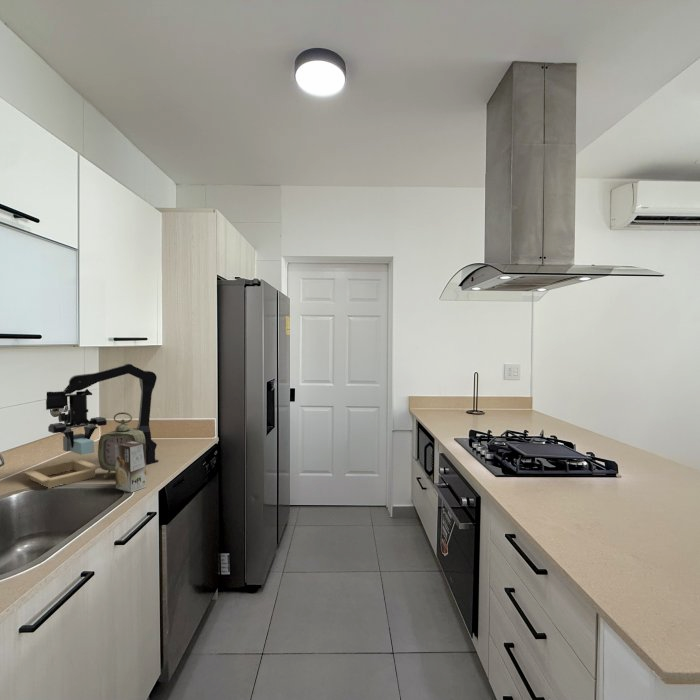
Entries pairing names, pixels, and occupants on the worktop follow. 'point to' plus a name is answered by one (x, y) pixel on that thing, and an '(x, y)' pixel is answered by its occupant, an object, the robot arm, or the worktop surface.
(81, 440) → the box
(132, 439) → the tabletop clock
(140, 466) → the coffee box
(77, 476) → the tan shallow rectangular tray
